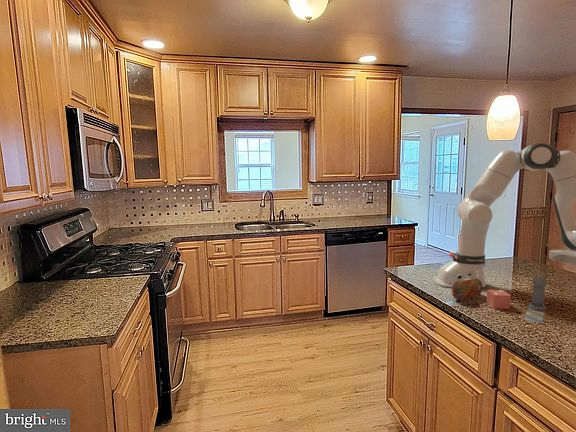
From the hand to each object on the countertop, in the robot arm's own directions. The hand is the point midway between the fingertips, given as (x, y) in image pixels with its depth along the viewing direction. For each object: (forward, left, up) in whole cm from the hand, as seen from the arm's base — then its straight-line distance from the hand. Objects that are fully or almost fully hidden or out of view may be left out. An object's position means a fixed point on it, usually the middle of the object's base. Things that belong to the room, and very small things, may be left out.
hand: (565, 261), depth 134 cm
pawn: (-11, -5, -17) cm, 21 cm away
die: (-24, -4, -18) cm, 31 cm away
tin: (-33, +5, -18) cm, 38 cm away
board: (-14, -10, -18) cm, 25 cm away
